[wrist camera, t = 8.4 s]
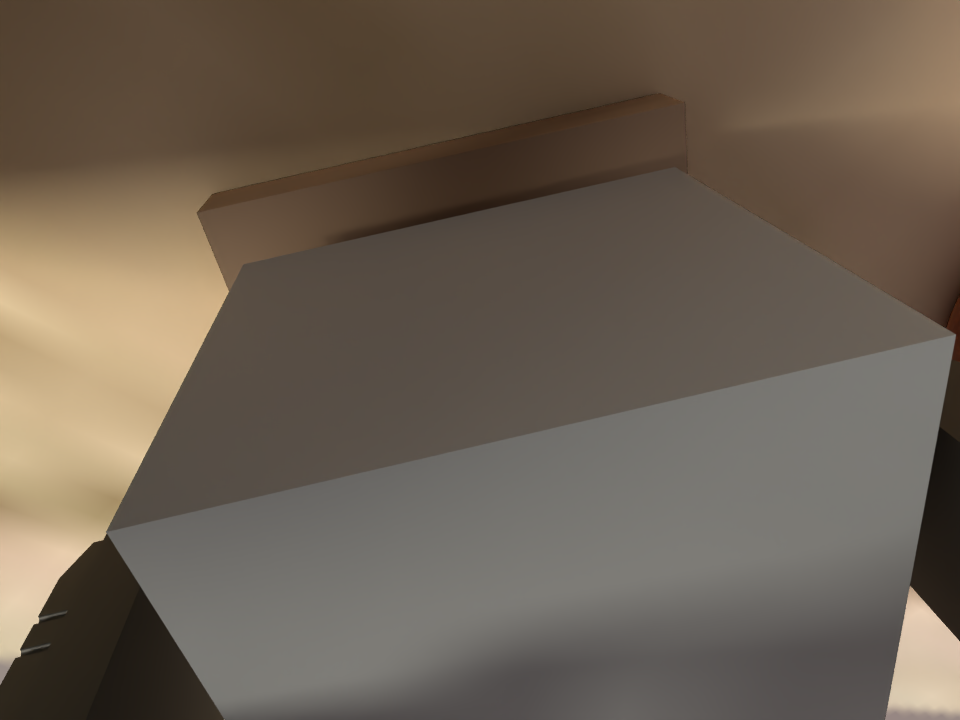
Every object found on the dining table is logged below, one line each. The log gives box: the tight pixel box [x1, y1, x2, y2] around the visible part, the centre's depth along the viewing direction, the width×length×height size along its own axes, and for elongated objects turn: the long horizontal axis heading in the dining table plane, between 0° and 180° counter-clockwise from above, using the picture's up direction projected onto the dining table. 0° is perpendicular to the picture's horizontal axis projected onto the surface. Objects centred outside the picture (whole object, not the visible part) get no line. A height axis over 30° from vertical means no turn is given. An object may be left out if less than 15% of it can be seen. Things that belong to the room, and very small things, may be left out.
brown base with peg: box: [197, 93, 688, 291], centre depth 9 cm, size 7×7×6 cm
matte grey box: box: [106, 167, 956, 720], centre depth 8 cm, size 6×6×5 cm
